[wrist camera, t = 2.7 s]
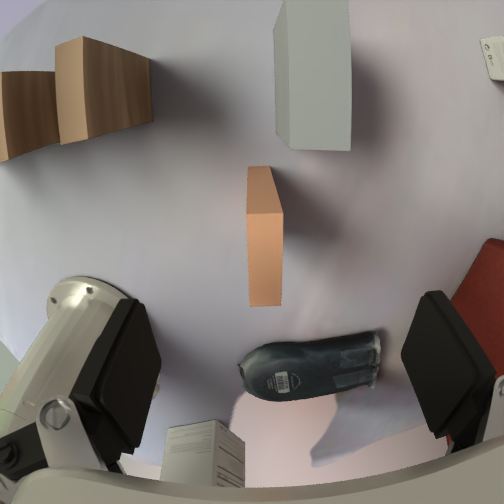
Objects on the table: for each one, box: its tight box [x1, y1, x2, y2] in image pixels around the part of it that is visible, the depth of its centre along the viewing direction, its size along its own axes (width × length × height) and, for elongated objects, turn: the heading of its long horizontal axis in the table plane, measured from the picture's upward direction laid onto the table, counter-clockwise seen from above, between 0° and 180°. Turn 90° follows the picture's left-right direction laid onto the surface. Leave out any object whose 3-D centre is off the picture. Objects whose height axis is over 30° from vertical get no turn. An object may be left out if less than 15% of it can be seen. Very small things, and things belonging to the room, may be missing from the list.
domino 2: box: [55, 36, 153, 145], centre depth 15 cm, size 2×5×10 cm, turn 2°
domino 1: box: [0, 71, 60, 162], centre depth 15 cm, size 2×5×10 cm, turn 1°
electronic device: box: [237, 332, 381, 402], centre depth 31 cm, size 9×6×15 cm
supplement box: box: [160, 420, 245, 488], centre depth 34 cm, size 9×9×15 cm
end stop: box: [273, 0, 352, 151], centre depth 15 cm, size 3×8×8 cm, turn 2°
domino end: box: [246, 166, 283, 307], centre depth 19 cm, size 2×5×10 cm, turn 2°
